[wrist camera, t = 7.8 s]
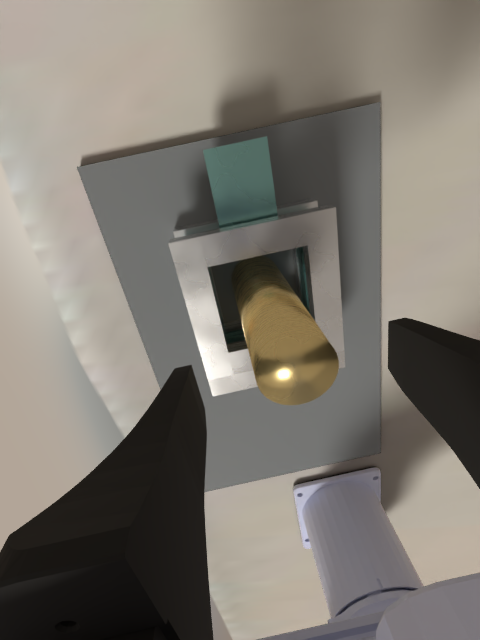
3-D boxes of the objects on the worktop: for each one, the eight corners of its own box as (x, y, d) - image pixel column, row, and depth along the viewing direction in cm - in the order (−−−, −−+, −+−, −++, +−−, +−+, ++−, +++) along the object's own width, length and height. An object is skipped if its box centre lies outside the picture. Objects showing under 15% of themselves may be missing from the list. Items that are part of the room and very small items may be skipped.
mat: (377, 448, 29) (380, 453, 29) (199, 487, 29) (199, 493, 29) (375, 103, 18) (380, 102, 17) (80, 166, 17) (76, 167, 17)
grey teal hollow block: (324, 336, 23) (345, 367, 20) (211, 361, 23) (212, 396, 20) (305, 129, 17) (330, 121, 14) (155, 161, 17) (144, 161, 14)
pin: (282, 295, 21) (340, 395, 12) (236, 305, 21) (262, 412, 12) (275, 250, 20) (336, 326, 11) (227, 261, 20) (248, 345, 11)
